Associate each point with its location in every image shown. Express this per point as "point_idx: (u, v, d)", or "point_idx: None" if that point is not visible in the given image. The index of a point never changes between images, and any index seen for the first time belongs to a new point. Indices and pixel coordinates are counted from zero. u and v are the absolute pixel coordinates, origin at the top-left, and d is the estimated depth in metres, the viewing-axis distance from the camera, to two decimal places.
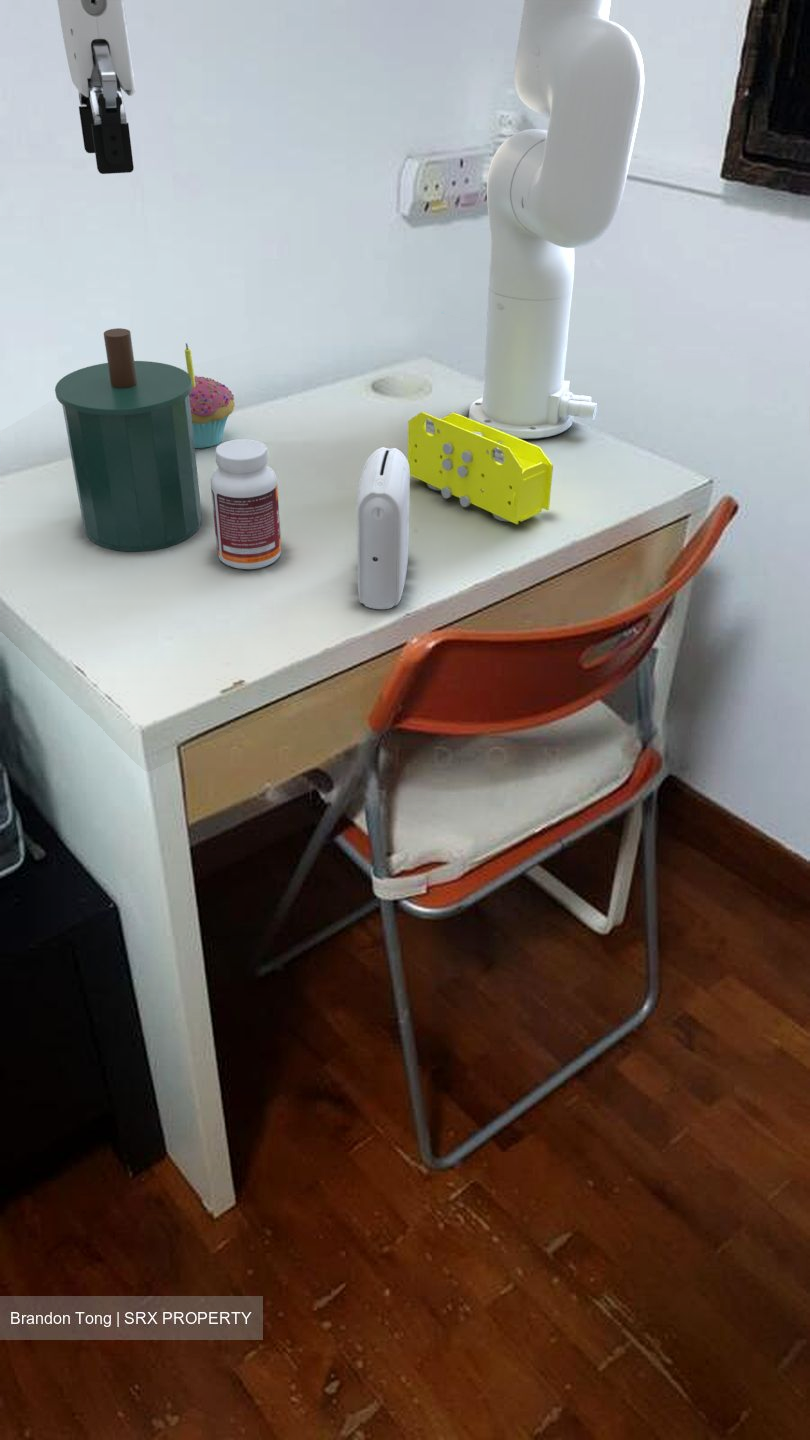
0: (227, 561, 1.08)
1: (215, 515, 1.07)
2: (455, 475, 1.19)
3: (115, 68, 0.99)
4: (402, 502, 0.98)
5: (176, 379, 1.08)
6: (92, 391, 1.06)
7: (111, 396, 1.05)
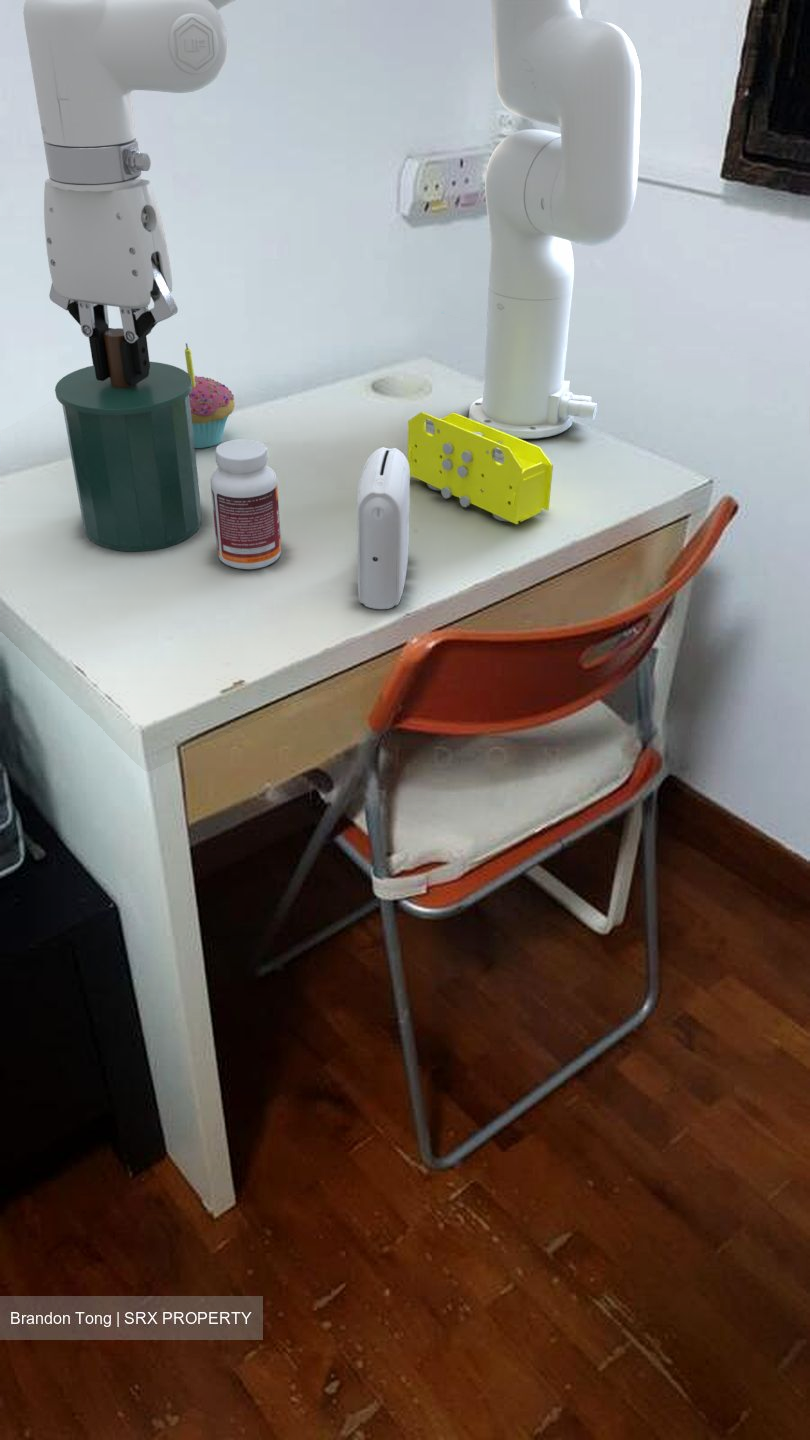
0: (227, 561, 1.08)
1: (215, 515, 1.07)
2: (455, 475, 1.19)
3: None
4: (402, 502, 0.98)
5: (176, 379, 1.08)
6: (92, 391, 1.06)
7: (111, 396, 1.05)
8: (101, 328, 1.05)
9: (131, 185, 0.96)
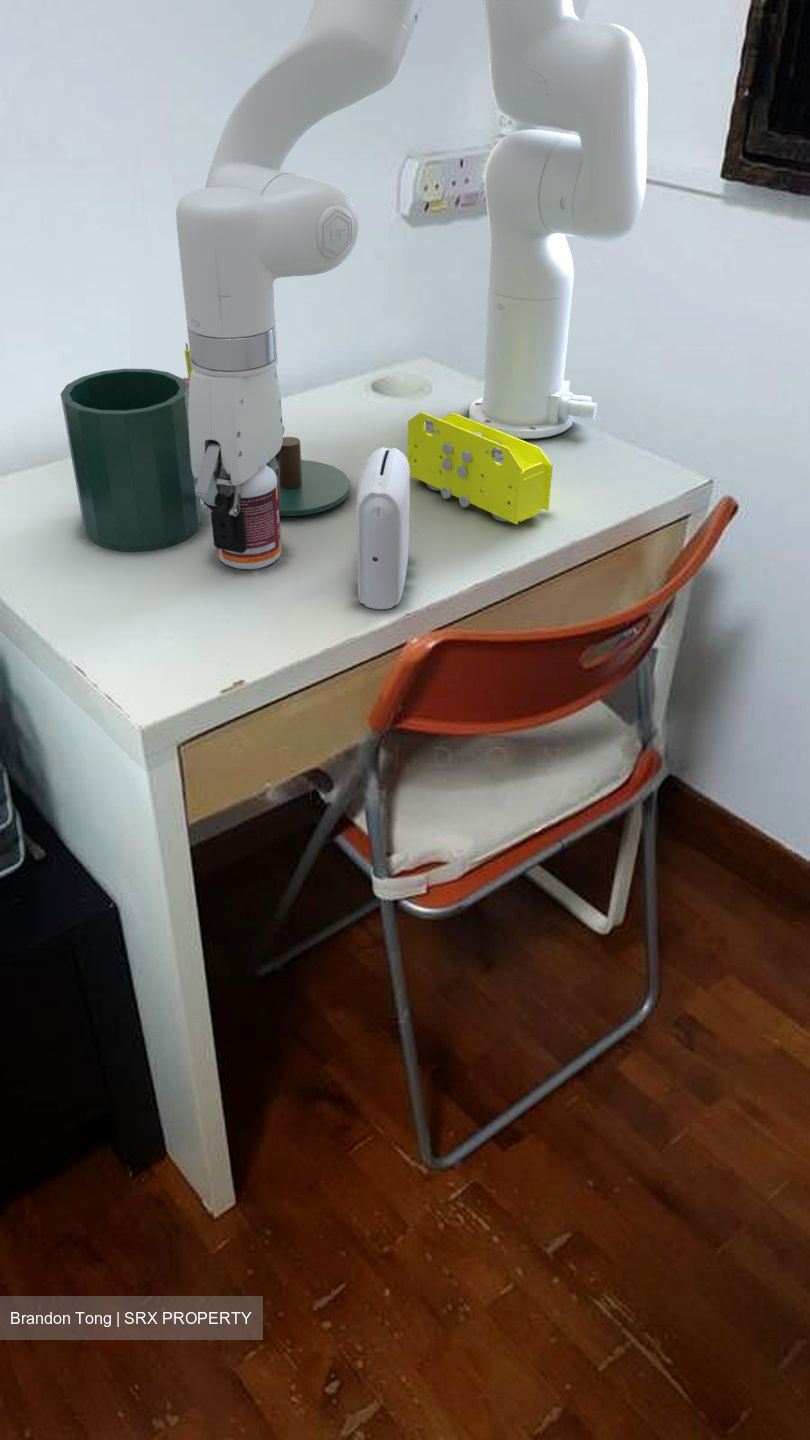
0: (227, 561, 1.08)
1: None
2: (455, 475, 1.19)
3: None
4: (402, 502, 0.98)
5: (335, 479, 1.22)
6: None
7: (283, 497, 1.19)
8: None
9: None
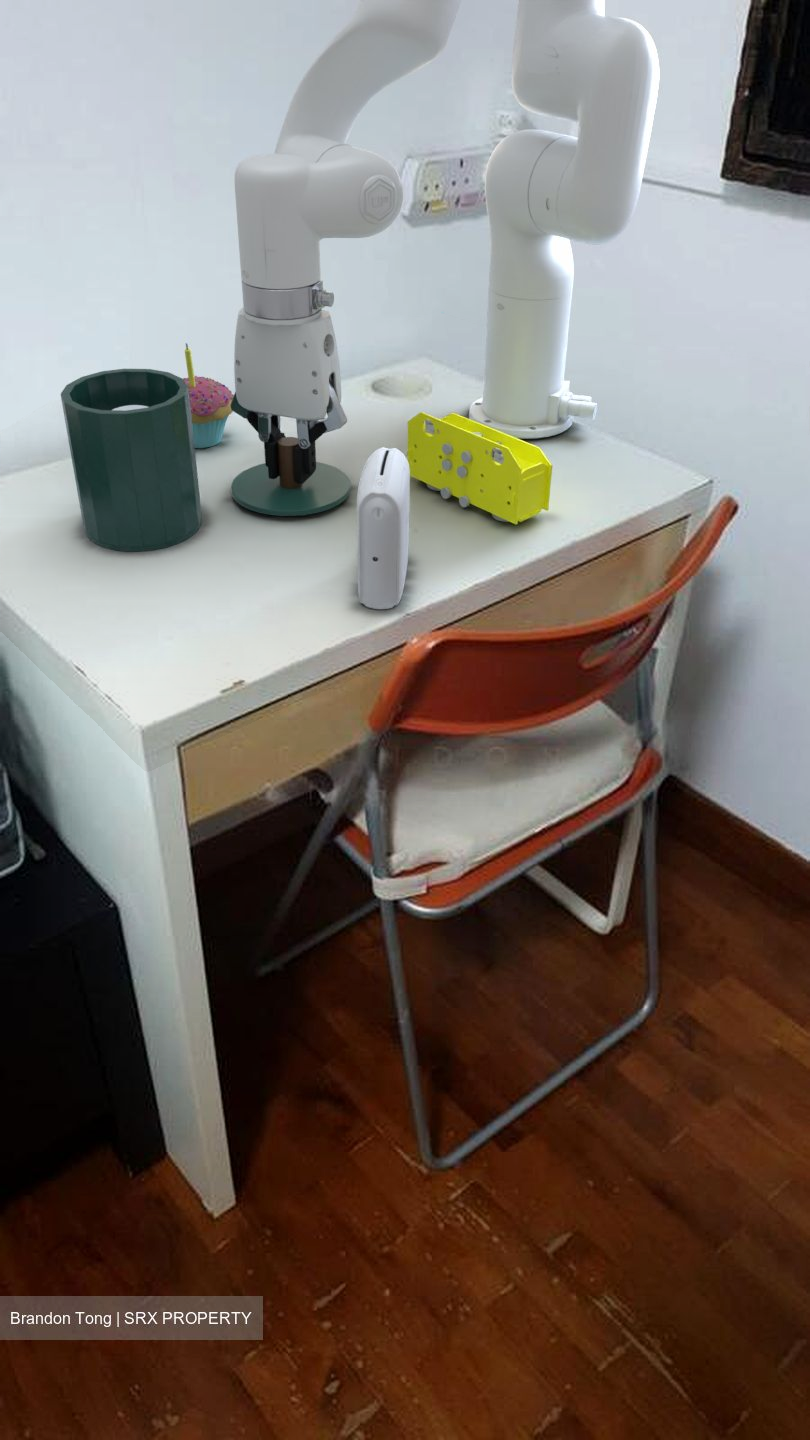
0: None
1: None
2: (454, 475, 1.19)
3: None
4: (402, 502, 0.98)
5: (335, 479, 1.22)
6: (265, 492, 1.20)
7: (283, 497, 1.19)
8: (275, 434, 1.18)
9: (316, 318, 1.09)
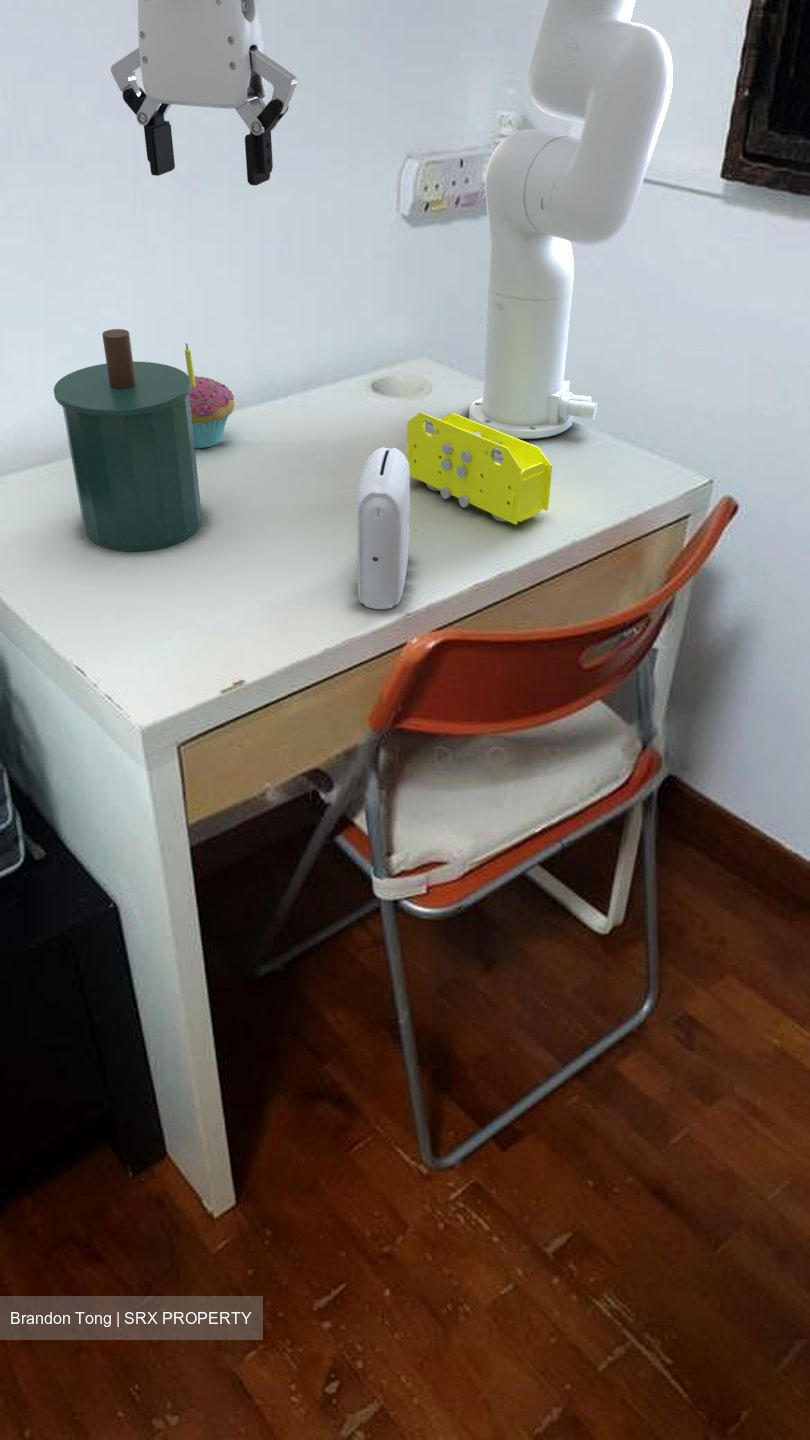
0: None
1: None
2: (454, 475, 1.19)
3: None
4: (402, 502, 0.98)
5: (174, 380, 1.08)
6: (90, 392, 1.06)
7: (110, 397, 1.05)
8: (157, 117, 1.01)
9: None
